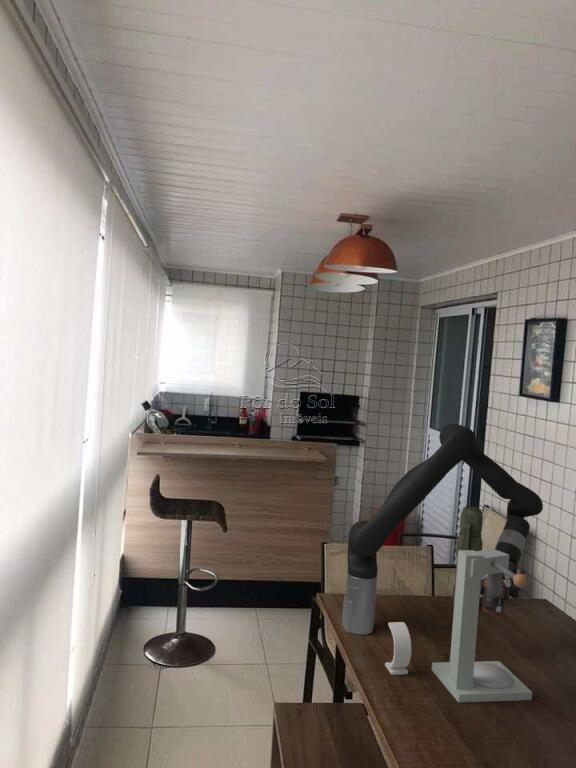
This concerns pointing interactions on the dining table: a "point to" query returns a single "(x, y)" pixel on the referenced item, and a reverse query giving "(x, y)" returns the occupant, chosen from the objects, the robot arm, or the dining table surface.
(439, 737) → the dining table surface
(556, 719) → the dining table surface
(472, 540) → the thermos
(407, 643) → the headphone stand
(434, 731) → the dining table surface
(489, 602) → the supplement bottle
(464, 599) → the press
